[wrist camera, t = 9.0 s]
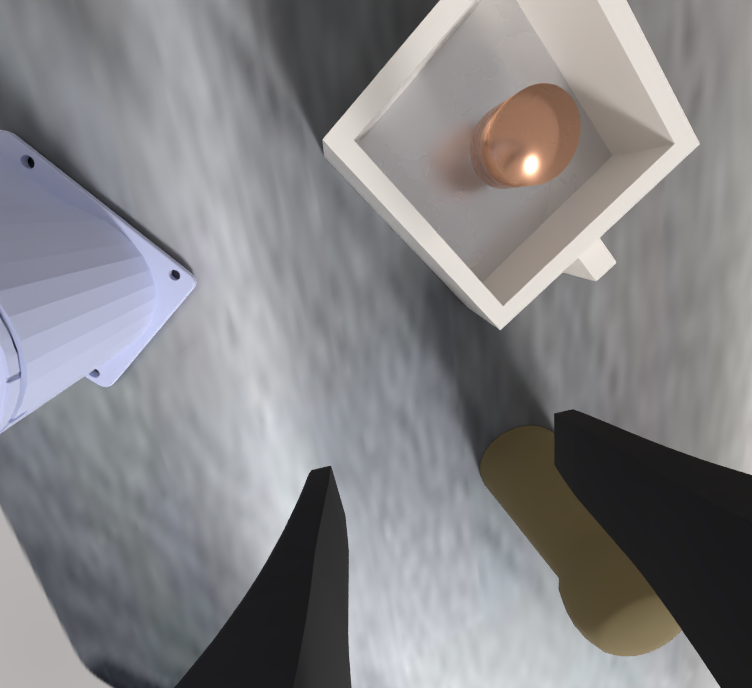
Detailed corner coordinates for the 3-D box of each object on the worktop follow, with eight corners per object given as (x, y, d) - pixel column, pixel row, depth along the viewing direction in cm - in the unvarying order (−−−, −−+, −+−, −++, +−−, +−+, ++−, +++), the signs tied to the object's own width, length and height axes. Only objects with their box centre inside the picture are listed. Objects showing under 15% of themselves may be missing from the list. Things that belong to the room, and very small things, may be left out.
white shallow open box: (324, 156, 17) (322, 139, 13) (494, -45, 15) (556, -138, 11) (487, 328, 21) (525, 356, 17) (636, 187, 19) (719, 181, 15)
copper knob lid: (348, 155, 17) (355, 134, 12) (496, -16, 15) (571, -117, 11) (470, 288, 20) (514, 313, 15) (605, 157, 18) (701, 138, 14)
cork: (552, 493, 27) (691, 670, 16) (474, 498, 26) (569, 687, 16) (570, 423, 25) (743, 576, 14) (486, 426, 24) (605, 590, 14)
